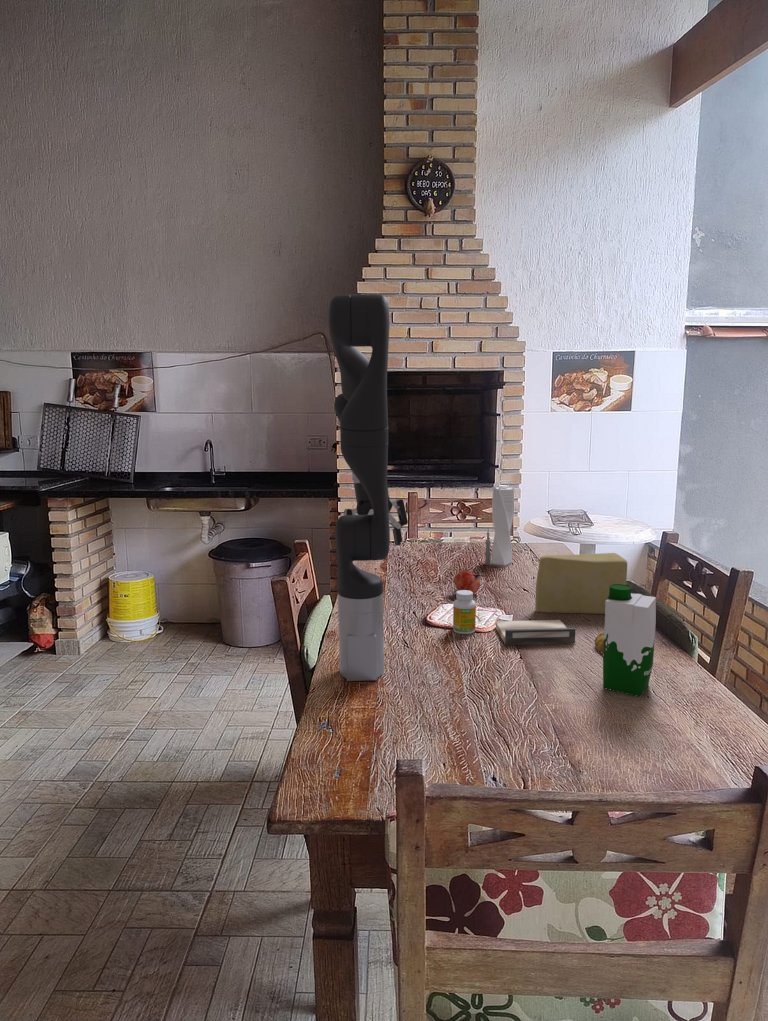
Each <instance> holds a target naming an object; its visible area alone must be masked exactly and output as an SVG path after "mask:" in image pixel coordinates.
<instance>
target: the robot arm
mask: <svg viewBox="0 0 768 1021" xmlns="http://www.w3.org/2000/svg"><path fill="white" fill-rule="evenodd" d="M390 315H391V314H390V306H389V301H388V299H387V297H386V296H385V295H383V294H377V293H376V294H375V293H374V294H360V293H359V294H352V293H351V294H337V295H335V296H333V297H332V299H331V300H330V303H329V307H328V330H329V336H330V341H331V346H332V348H333V352H334V355H335V359H336V361H337V365H338V369H339V372H340V386H341V387H340V388H341V393H340V394H338V395H337V397H336V398H335V400H334V412H335V414H336V418H337V419H338V421H339V427H340V428H339V430H340V432H339V433H340V434H339V435H340V440H339V441H340V453H341V454H342V457H343V458H344V461H345V462H346V464H347V466H348V467H349V468H350V470H351V476H352V477H351V479H352V482H353V487H354V494H355V499H356V508H345V509H344V510H343V514H344V515H340V516H339V517H338V518H337V521H336V523H335V529H334V530H335V531H334V532H335V533H334V534H335V535H334V536H335V549H336V560H337V561H336V562H337V603H338V604H337V605H338V606H337V608H338V611H337V612H338V613H337V614H338V618H337V619H338V650H339V651H338V652H339V654H338V656H339V658H338V659H339V674H340V676H341V677H343V678H345V679H346V681H347V682H356V681H357V682H359V681H377V680H378V678H380V677H381V676H383V674H384V673H385V662H384V659H385V657H384V656H385V654H384V653H385V652H384V651H385V650H384V649H385V647H384V643H385V642H384V637H385V636H384V582H383V579H382V577H380V576H379V575H376V574H374V573H373V572H372V573H371V572H368V571H365V570H363V569H361V568H360V567H357V566H356V565H355V564H354V563H353V562H354V561H355V562H356V561H357V562H358V561H361V562H362V561H363V562H364V561H383V560H385V559H386V558H387V557H388V555H389V553H390V546H391V533H390V531H392V535H393V540H394V545H395V546H401V543H402V542H403V536H402V528H403V526H406V525H408V524H409V521H408V517H407V512H406V507H405V502H404V500H403V499H399V498H397V499H396V500H393V501H391V500H390V495H389V494H390V493H389V488H388V464H389V463H388V460H389V456H388V455H389V415H388V414H389V413H388V411H389V410H388V408H389V407H388V364H389V363H388V361H389V344H390V343H389V342H390V341H389V340H390V323H391V322H390V320H391V319H390ZM358 347H364V348H365V347H371V350H372V351H371V354H370V358H369V359H368V358H367V357H366V355H364V353H363V352H361V351H360V349H358ZM392 508H394V510H396V512H397V516H398V521H397V520H396V518H395V517H394V516H393V515H392V514H391V513H390V512H391V510H392ZM390 526H391V527H392V528H393V529H392V530H390Z"/></svg>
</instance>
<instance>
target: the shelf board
mask: <svg viewBox="0 0 768 1021" xmlns="http://www.w3.org/2000/svg"><path fill="white" fill-rule="evenodd" d="M494 623H495V625H496V627H495V630H496V631H497V633H498V635H499V636H500V638H501V639H502V641H503V643H504V645H505V646H523V645H524V646H526V645H527V646H529V645H530V646H531V645H572V644H571V643H575V644H576V630H577V629H576V628H575V627H567V626H566V624H564V622H562V621H561V619H539V620H537V619H536V620H498V621H497V620H496V621H495V622H494Z"/></svg>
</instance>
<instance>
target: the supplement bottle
mask: <svg viewBox="0 0 768 1021" xmlns="http://www.w3.org/2000/svg"><path fill="white" fill-rule="evenodd" d="M455 593H456V596H455V598H456V599H455V600H454V601H453V604H452V607H453V609H452V613H453V614H452V618H453V619H452V623H453V624H452V631H454V633H456V634H459V635H470V634H473V633H475V631H476V623H477V622H476V620H477V619H476V616H477V615H476V614H477V611H476V610H477V609H476V608H477V604H476V602H475V600H473V599H474V594H473V592H472V591H469V590H458V591H456V592H455Z"/></svg>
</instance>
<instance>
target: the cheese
mask: <svg viewBox="0 0 768 1021" xmlns="http://www.w3.org/2000/svg"><path fill="white" fill-rule="evenodd" d="M627 576H628V561H627V560H626V559H625V558H623V557H622V556H621V555H620V554H619V553H615V552H605V553H582V554H581V553H580V554H567V555H566V554H565V555H564V554H562V555H561V554H560V555H559V554H558V555H555V554H553V555H552V554H546V555H542V556H541V557H539V562H538V569H537V575H536V582H535V602H534V603H535V605H534V606H535V607H534V608H535V611H536V612H538V613H551V614H553V613H558V614H588V615H589V614H591V615H592V614H593V615H595V614H596V615H605V601H606V600H607V598H608V595H609V588H610V585H613V584H623V585H627V579H628V577H627Z"/></svg>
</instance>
